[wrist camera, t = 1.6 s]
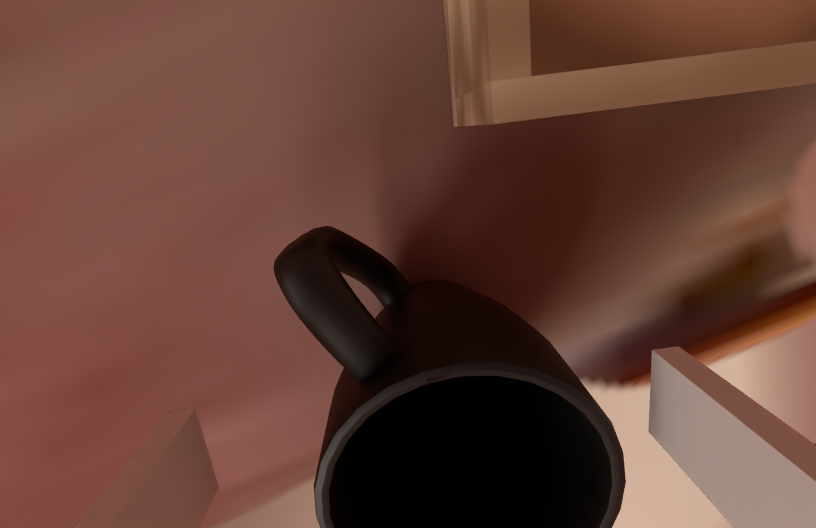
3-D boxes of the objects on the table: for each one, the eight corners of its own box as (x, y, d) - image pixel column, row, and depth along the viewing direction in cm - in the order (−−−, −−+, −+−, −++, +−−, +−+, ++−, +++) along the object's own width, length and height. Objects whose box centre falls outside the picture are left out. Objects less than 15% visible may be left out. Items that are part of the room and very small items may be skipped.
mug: (422, 139, 18) (457, 147, 9) (551, 358, 21) (675, 533, 12) (260, 244, 19) (137, 351, 10) (407, 437, 22) (419, 654, 13)
